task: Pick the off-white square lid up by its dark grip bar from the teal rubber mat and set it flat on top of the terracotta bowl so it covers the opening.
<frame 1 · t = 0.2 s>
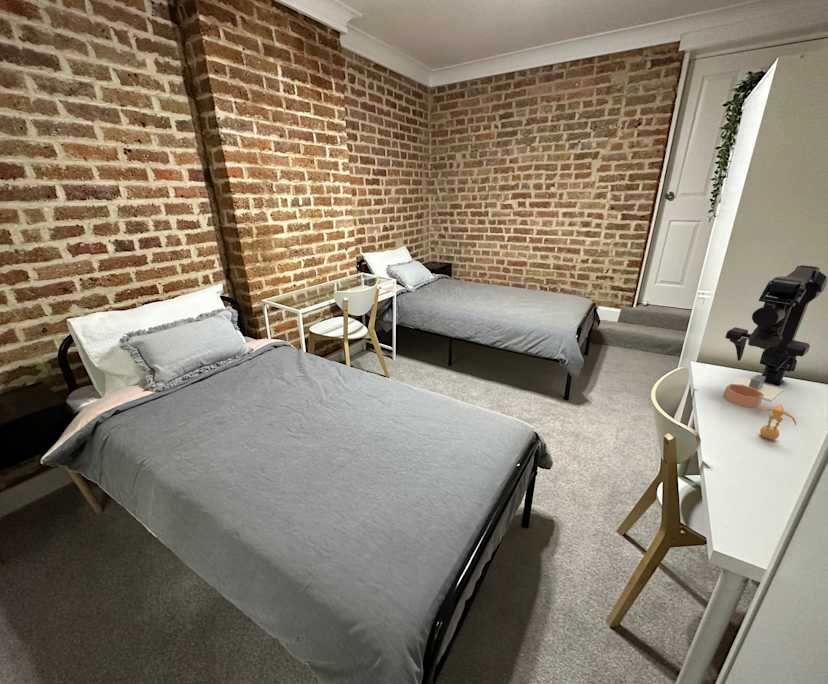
hand: (756, 365, 118), 14 cm above the table, tool pointing down, fingers open, 9 cm apart
mat: (754, 390, 131), on the table
figurine: (766, 440, 106), on the table
bowl: (740, 400, 125), on the table
lid: (754, 389, 131), resting on mat
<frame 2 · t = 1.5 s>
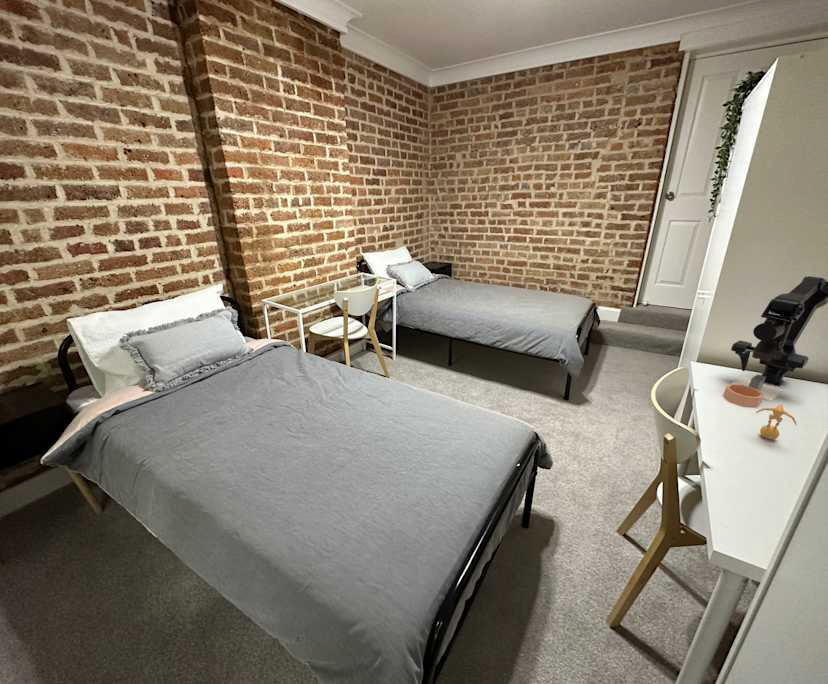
hand: (759, 375, 129), 6 cm above the table, tool pointing down, fingers open, 9 cm apart
nothing on the table moved.
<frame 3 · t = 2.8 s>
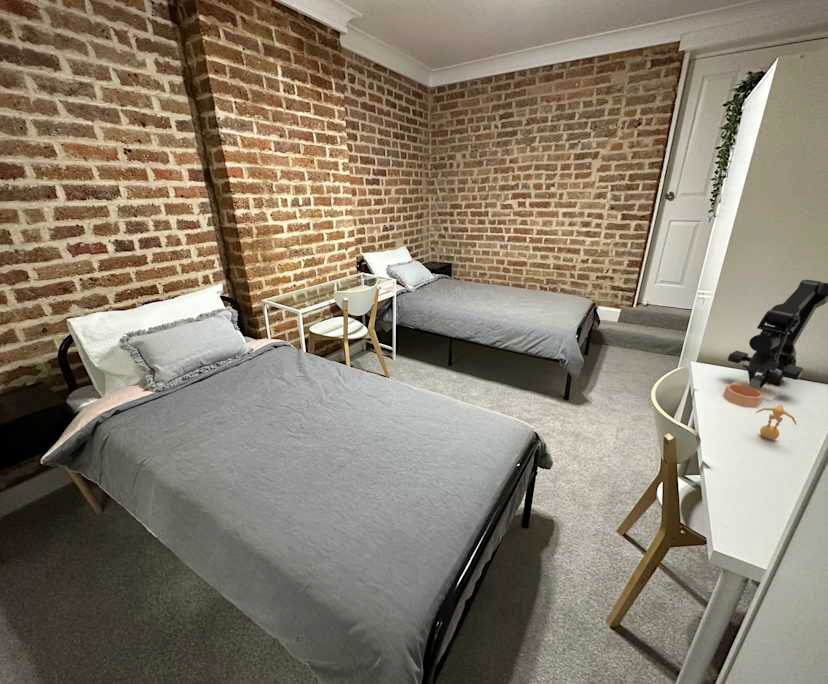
hand: (755, 385, 130), 2 cm above the table, tool pointing down, fingers closed on lid, 2 cm apart
lid: (754, 389, 131), resting on mat, touching gripper
everything else where it was.
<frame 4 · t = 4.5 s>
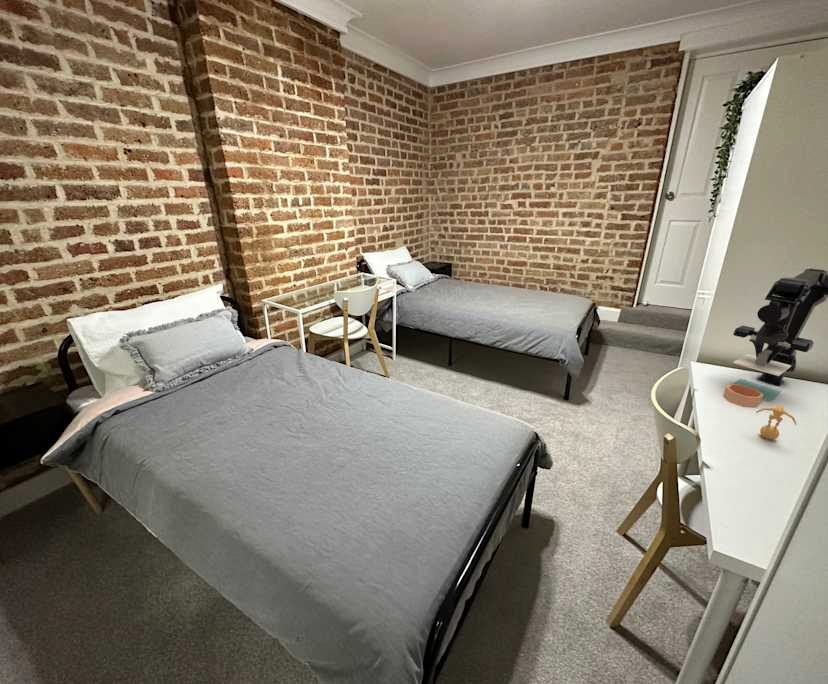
hand: (762, 361, 125), 12 cm above the table, tool pointing down, fingers closed on lid, 2 cm apart
lid: (761, 365, 126), point 11 cm above the table, touching gripper
everything else where it was.
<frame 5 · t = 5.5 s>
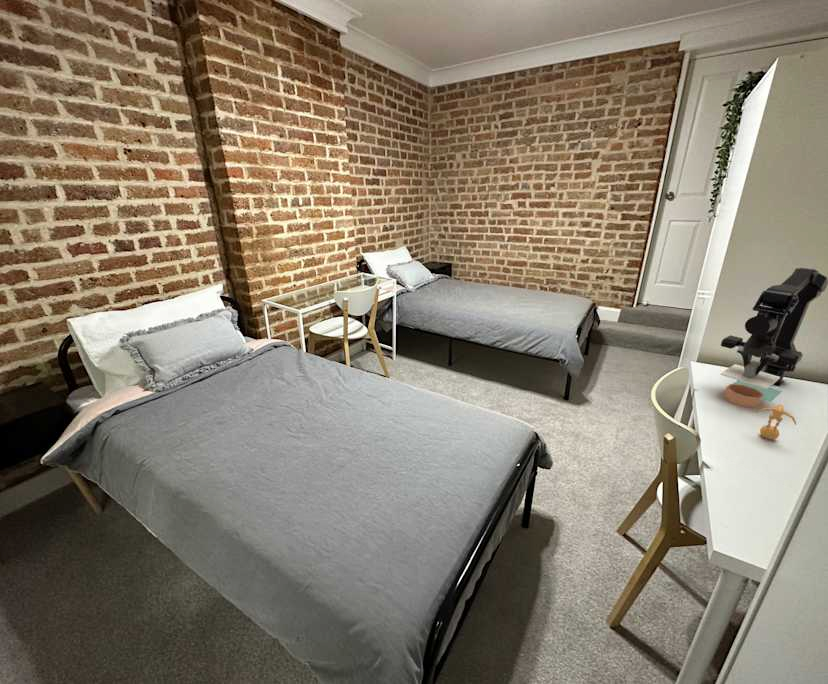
hand: (751, 372, 121), 11 cm above the table, tool pointing down, fingers closed on lid, 2 cm apart
lid: (749, 376, 121), point 9 cm above the table, touching gripper
everything else where it was.
when the fingers open (7 cm above the table, at t = 6.4 s): lid drops 1 cm, resting on bowl.
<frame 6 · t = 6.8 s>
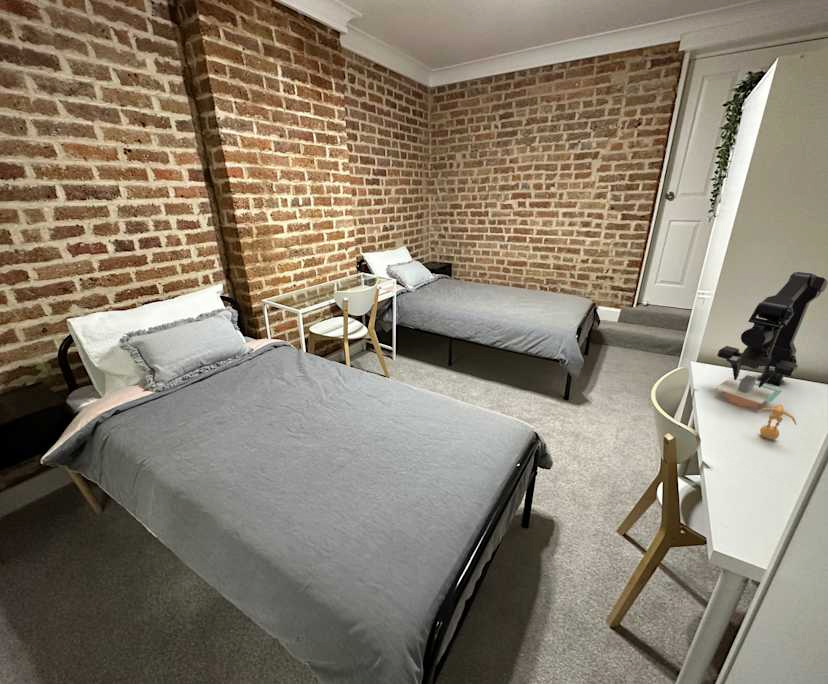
hand: (747, 383, 122), 7 cm above the table, tool pointing down, fingers open, 6 cm apart
lid: (744, 390, 123), point 4 cm above the table, touching bowl
everything else where it was.
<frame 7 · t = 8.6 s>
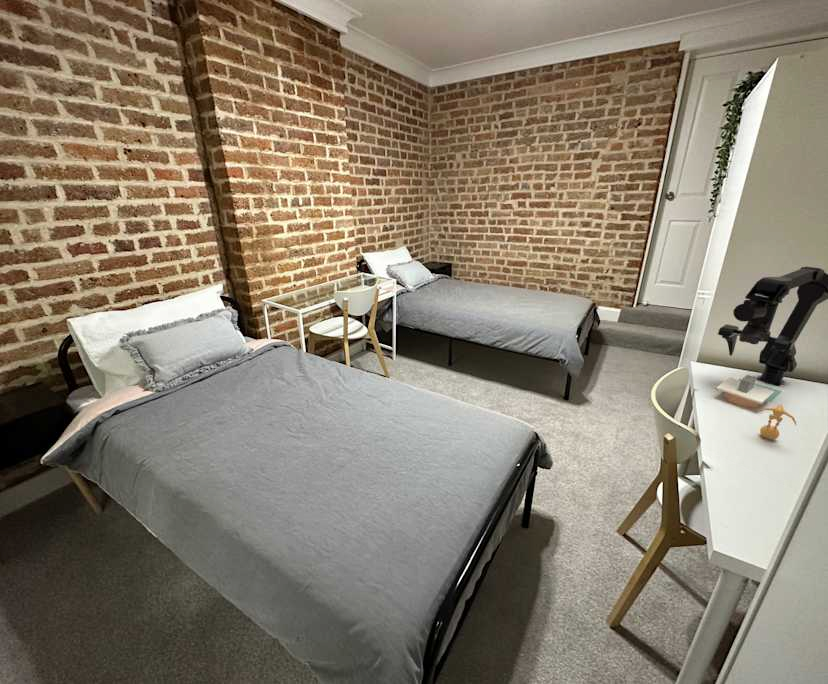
hand: (747, 359, 127), 12 cm above the table, tool pointing down, fingers open, 9 cm apart
nothing on the table moved.
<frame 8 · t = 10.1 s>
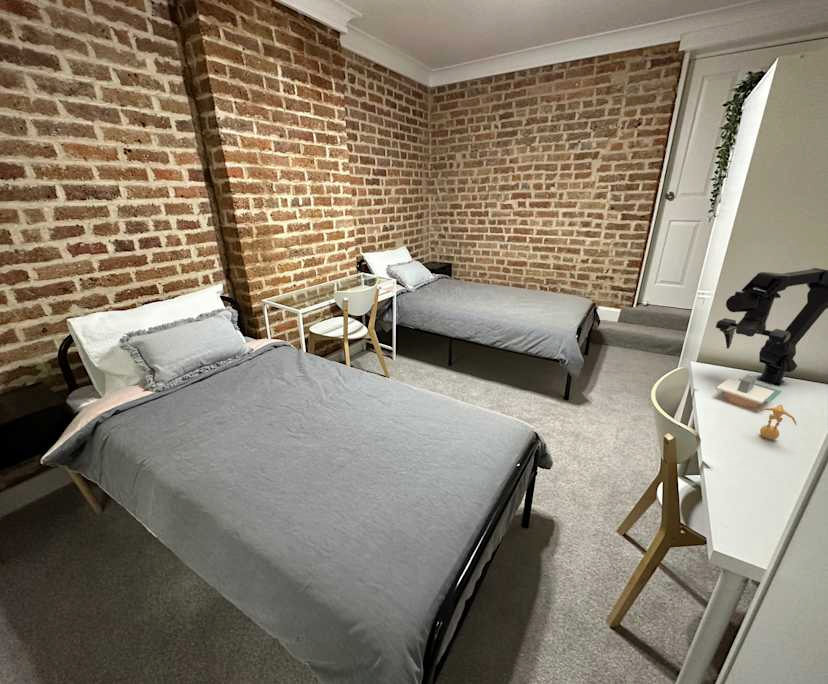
hand: (743, 352, 130), 13 cm above the table, tool pointing down, fingers open, 9 cm apart
nothing on the table moved.
at the end: lid 0.0 cm off-centre on the bowl, point 4.0 cm above the bowl's base; lid tilted 0°; the gripper is holding nothing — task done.
